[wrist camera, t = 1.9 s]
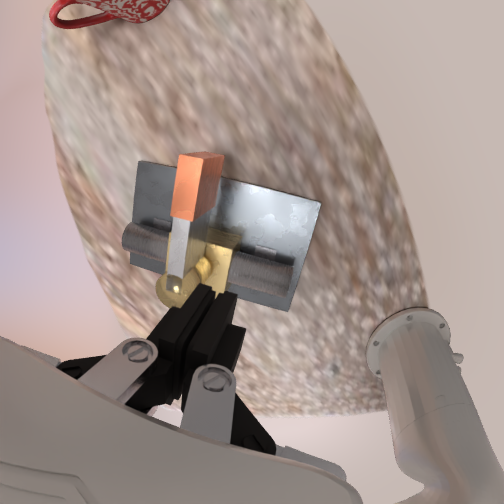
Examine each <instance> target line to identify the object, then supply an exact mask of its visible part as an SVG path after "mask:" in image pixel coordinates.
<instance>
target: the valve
mask: <svg viewBox="0 0 504 504" xmlns="http://www.w3.org/2000/svg"><path fill="white" fill-rule="evenodd" d="M176 172H177V167H172V166H166V165H161V164H156V163H150V162H145V161H138V168H137V176H136V185H135V194H134V205H133V217H132V222H131V223H129V224H128V225H127V227H126V228H125V230H124V233H123V236H122V247H123V249H124V250H126V251H129V252H130V264H132V265H135V266H138V267H141V268H144V269H147V270H150V271H153V272H156V273H159V274H162V275H163V274H164V273H165V272H166V271H167V270H168V260H169V250H170V241H171V232H172V224H173V216H170V214H171V206H172V199H173V192H174V185H175V178H176ZM320 206H321V202H318V201H315V200H311V199H307V198H304V197H300V196H296V195H293V194H289V193H285V192H281V191H278V190H274V189H270V188H266V187H262V186H258V185H254V184H249V183H245V182H241V181H237V180H233V179H228V178H224V177H220V183H219V188H218V193H217V198H216V204H215V207H213V208H212V210H211V216H210V222H209V228H208V233H207V239H206V245H205V252H204V257H205V258H206V259H207V260H208V261H209V263H210V266H211V275H210V277H209V278H208V280H207V281H206V283H205V285H208V286H212V290H213V291H216V296H215V298H216V297H217V295H218V294H219V292H220V293H224V291H229V292H232V293H235V294H238V297H237V298H240V299H243V300H246V301H250V302H253V303H257V304H260V305H264V306H268V307H271V308H275V309H278V310H282V311H286V312H288V310H289V307H290V304H291V301H292V298H293V295H294V292H295V289H296V286H297V282H298V279H299V276H300V273H301V270H302V267H303V263H304V260H305V257H306V254H307V250H308V247H309V244H310V240H311V237H312V234H313V230H314V227H315V223H316V220H317V216H318V213H319V209H320Z"/></svg>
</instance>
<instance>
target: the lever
mask: <svg viewBox="0 0 504 504" xmlns="http://www.w3.org/2000/svg"><path fill="white" fill-rule="evenodd" d="M224 157H225V155H220V154H215V153H210V152H196V153H187V154H179V160H178V166H177V172H176V178H175V185H174V192H173V199H172V206H171V214H170V216H173V224H172V232H171V241H170V250H169V260H168V270H167V271H166V272H165V273H164V274H163V275H162V276H161V277H160V278H159V279H158V280H157V282H156V293H157V296H158V298H159V299H160V301H161V302H162V303H163V304H164V305H166V306H167V307H169V308H171V307H172V306H176V307H178V308H181V307H182V305H183V304H184V303H185V301H186V300H187V299H188V297H189V296H190V295H191V293H192V292H193V291H194V289H195V288H196V287H197V285H198V284H199V283H202V284H205V283H206V281H207V280H208V278H209V277H210V275H211V266H210V263H209V261H208V260H207V259H206V258H205V257H204V252H205V245H206V239H207V233H208V228H209V222H210V216H211V210H212V208H213V207H215V204H216V198H217V193H218V188H219V183H220V177H221V172H222V167H223V162H224Z"/></svg>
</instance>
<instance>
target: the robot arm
mask: <svg viewBox="0 0 504 504" xmlns="http://www.w3.org/2000/svg"><path fill="white" fill-rule="evenodd" d="M215 296H216V291H213V290H212V286H208V285H205V284H202V283H199V284H198V285H197V287H196V288H195V289H194V291H193V292H192V293H191V295H190V296H189V297H188V299H187V300H186V301H185V303H184V304H183V305H182V307H181V308H178V307H176V306H172V307H171V308H170V309H169V311H168V312H167V313H166V314H165V316H164V317H163V318H162V319H161V321H160V322H159V323H158V325H157V326H156V327H155V328H154V330H153V331H152V332H151V333H150V335H149V336H148V337H147V339H144V338H130V339H127V340H125V341H123V342H122V343H121V344H119V345H118V346H117V347H116V348H115V349H113V350H112V351H111V352H110V353H109V354H108V355H102V356H96V357H89V358H81V359H74V360H68V361H64V362H61V360H60V359H58V358H56V357H53V356H50V355H47V354H44V353H41V352H39V351H36V350H33V349H31V348H28V347H25V346H20V345H18V344H16V343H15V342H13V341H11V340H9V339H6V338H4V337H1V336H0V504H363V502H362V499H361V497H360V495H359V493H358V491H357V490H356V489H355V488H354V487H353V486H351V485H350V484H349V483H347V482H346V474H345V472H344V470H343V469H342V468H341V467H340V466H339V465H336V464H335V463H332V462H329V461H326V460H323V459H320V458H317V457H315V456H311V455H309V454H306V453H304V452H301V451H298V450H296V449H293V448H291V447H288V446H285V448H284V447H281V446H279V445H276V444H275V442H274V440H273V439H272V437H271V436H270V435H269V434H268V433H267V431H266V430H265V429H264V428H263V427H262V425H261V424H260V423H259V422H258V420H257V419H256V418H255V417H254V416H253V414H252V413H251V412H250V411H249V409H248V408H247V407H246V405H245V404H244V403H243V402H242V400H241V399H240V398H239V396H238V395H237V394H236V393H235V391H236V378H235V376H234V374H233V372H234V369H235V366H236V363H237V360H238V357H239V354H240V351H241V347H242V344H243V340H244V336H245V332H246V328H243V327H239V326H236V325H232V319H233V315H234V310H235V306H236V302H237V297H238V294H235V293H232V292H229V291H224V293H220V292H219V294H218V295H217V297H216V299H215ZM450 336H451V335H450V328H449V326H448V324H447V322H446V321H445V319H444V318H443V316H441V315H440V314H439V313H438V312H436V311H434V310H432V309H428V308H412V309H407V310H404V311H401V312H399V313H397V314H395V315H393V316H391V317H390V318H388V319H387V320H385V321H384V322H383V323H382V324H381V325H380V326H378V328H377V329H376V330H375V331H374V332H373V334H372V336H371V338H370V339H369V342H368V345H367V349H366V359H367V364H368V367H369V369H370V370H371V372H372V373H373V374H374V375H375V376H376V377H378V378H380V379H382V381H383V386H384V392H385V397H386V402H387V408H388V413H389V420H390V426H391V432H392V439H393V446H394V453H395V458H396V461H397V464H398V466H399V468H400V469H401V471H403V472H404V473H405V474H406V475H407V476H409V477H411V478H412V479H414V480H416V481H419V482H421V483H423V484H424V486H425V487H424V489H423V490H422V491H421V492H420V493H418V494H416V495H414V496H412V497H409V498H408V499H406V500H403V501H401V502H398V503H395V504H504V471H503V469H502V468H501V465H500V464H499V462H498V460H497V457H496V455H495V453H494V451H493V449H492V447H491V445H490V442H489V440H488V438H487V435H486V433H485V431H484V428H483V425H482V423H481V420H480V418H479V415H478V413H477V410H476V408H475V406H474V403H473V401H472V398H471V396H470V394H469V392H468V389H467V387H466V385H465V383H464V381H463V378H462V376H461V368H460V367H459V366H456V364H455V363H461V362H462V361H463V355H462V354H458V353H453V351H452V349H451V348H450V346H449V344H450ZM181 394H182V403H181V410H182V412H183V417H182V421H181V425H180V428H179V427H177V426H174V425H171V424H169V423H166V422H164V421H161V420H159V419H156V418H154V417H152V416H153V414H154V413H155V412H156V410H157V407H158V405H162V404H165V403H166V404H168V405H171V404H172V402H173V400H174V399H176V400H179V398H180V396H181Z"/></svg>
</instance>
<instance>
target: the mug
mask: <svg viewBox="0 0 504 504" xmlns="http://www.w3.org/2000/svg"><path fill="white" fill-rule="evenodd" d="M169 1H170V0H58V1H57V2H56V3H55V4H54V5H53V6H52V8H51V10H50V13H49V17H50V20H51V22H52V23H53V24H54V25H55V26H57V27H59V28H63V29H76V28H82V27H87V26H91V25H95V24H99V23H103V22H106V21H109V20H113V19H116V18H122V19H124V20H126V21H129V22H132V23H142V22H146V21H148V20H150V19H152V18H154V17H156V16H157V15H158V14H160V13H161V12H162V11H163V10H164V8H165V7H166V6H167V4H168V3H169ZM76 3H77V4H83V3H84V4H86V5H89V6H92V7H95V8H97V9H100V10H103V11H105V12H103V13H101V14H97V15H93V16H89V17H85V18H81V19H75V20H61V19H59V18H57V15H58V13H59V12H60V10H61V9H63V8H64V7H66V6H68V5H70V4H76Z"/></svg>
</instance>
